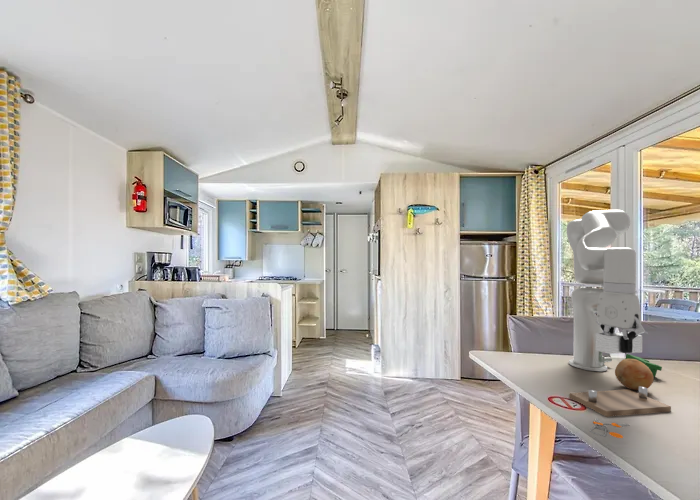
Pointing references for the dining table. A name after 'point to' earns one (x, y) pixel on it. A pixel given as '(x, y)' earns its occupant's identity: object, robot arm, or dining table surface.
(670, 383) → the dining table surface
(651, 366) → the clamp
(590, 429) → the key chain
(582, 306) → the robot arm
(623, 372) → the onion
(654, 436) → the dining table surface
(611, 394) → the peg board
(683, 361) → the dining table surface
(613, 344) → the silver metal block
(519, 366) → the dining table surface
